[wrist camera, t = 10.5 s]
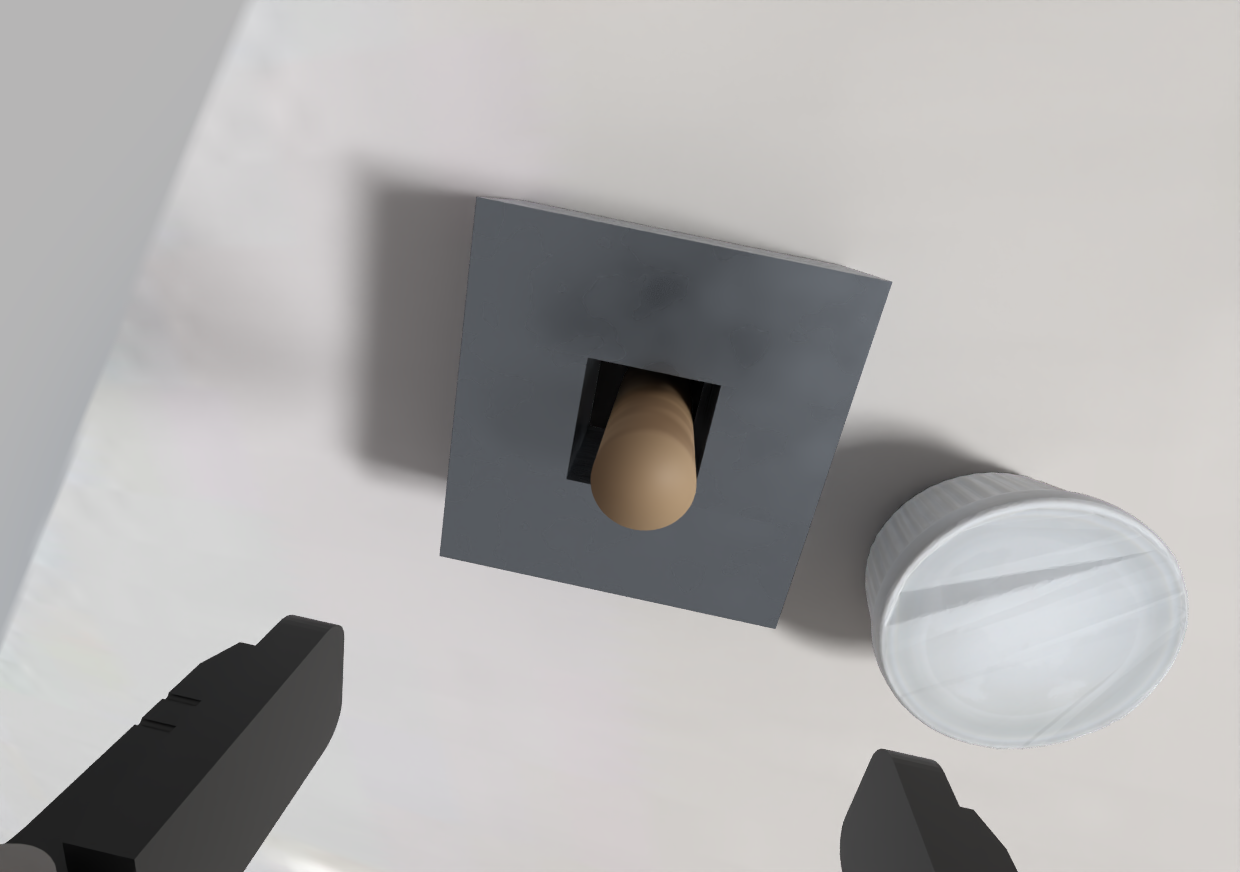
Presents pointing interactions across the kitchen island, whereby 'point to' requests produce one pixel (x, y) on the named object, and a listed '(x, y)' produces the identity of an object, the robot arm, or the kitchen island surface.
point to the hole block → (662, 342)
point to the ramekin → (1021, 610)
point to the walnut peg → (647, 452)
